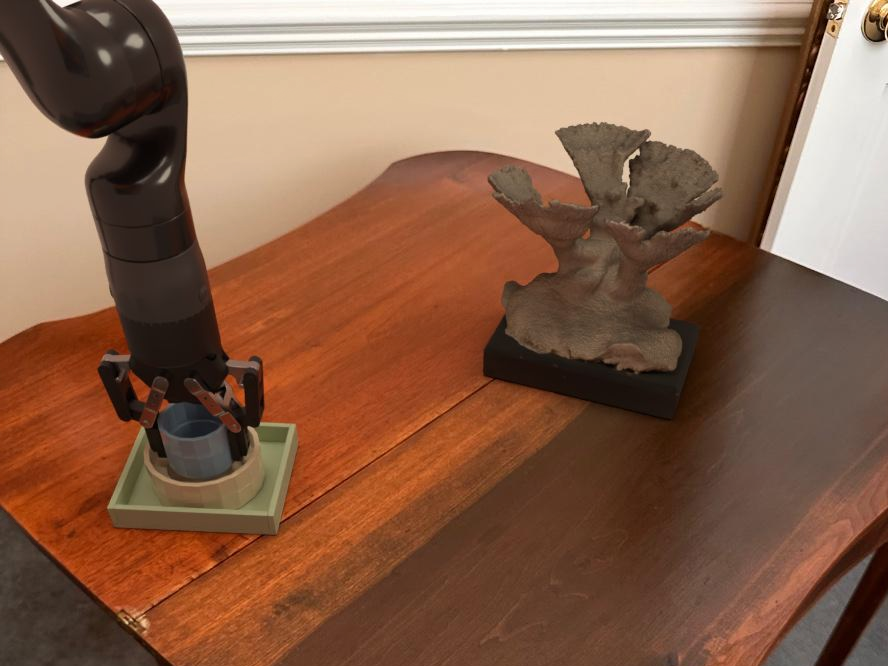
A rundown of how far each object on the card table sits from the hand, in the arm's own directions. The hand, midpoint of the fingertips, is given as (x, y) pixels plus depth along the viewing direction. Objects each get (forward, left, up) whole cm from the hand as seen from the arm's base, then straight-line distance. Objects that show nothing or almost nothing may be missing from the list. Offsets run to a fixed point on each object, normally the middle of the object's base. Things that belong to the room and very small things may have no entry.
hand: (202, 453), depth 82 cm
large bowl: (0, 0, -4) cm, 4 cm away
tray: (0, 0, -4) cm, 4 cm away
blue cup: (0, 0, -1) cm, 1 cm away
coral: (+38, +26, -4) cm, 46 cm away
